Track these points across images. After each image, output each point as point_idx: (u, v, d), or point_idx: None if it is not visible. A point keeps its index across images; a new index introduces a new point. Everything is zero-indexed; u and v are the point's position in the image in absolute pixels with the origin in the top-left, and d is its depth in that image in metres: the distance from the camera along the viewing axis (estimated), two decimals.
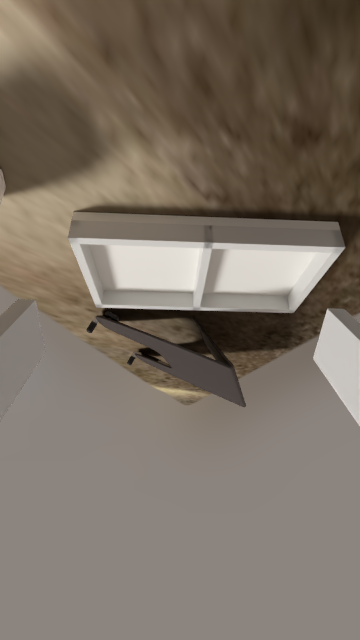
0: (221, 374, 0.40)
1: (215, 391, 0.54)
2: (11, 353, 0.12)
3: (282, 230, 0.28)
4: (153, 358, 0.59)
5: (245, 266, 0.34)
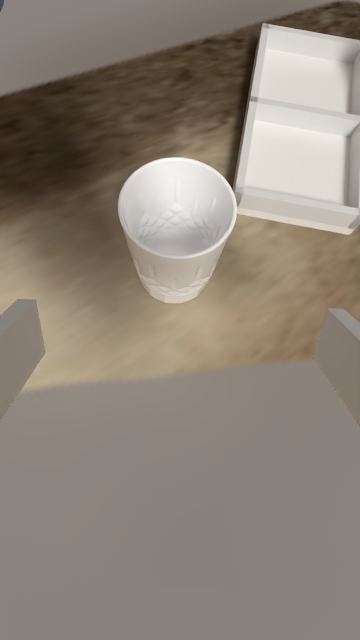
0: None
1: None
2: (11, 353, 0.12)
3: (253, 70, 0.37)
4: None
5: (301, 94, 0.36)
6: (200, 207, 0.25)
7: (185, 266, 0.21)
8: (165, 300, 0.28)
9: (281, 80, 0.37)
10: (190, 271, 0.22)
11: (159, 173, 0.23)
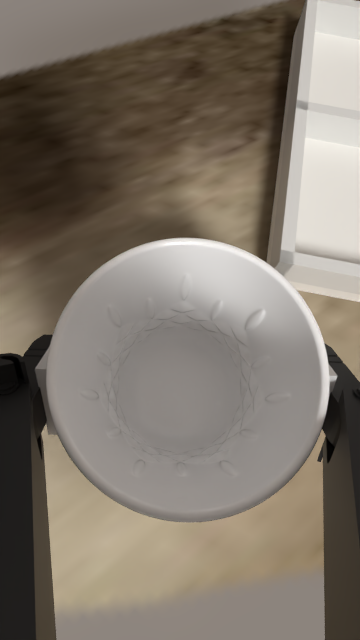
0: None
1: None
2: None
3: (294, 62, 0.25)
4: None
5: None
6: (230, 312, 0.13)
7: None
8: None
9: (335, 76, 0.25)
10: None
11: (149, 266, 0.11)
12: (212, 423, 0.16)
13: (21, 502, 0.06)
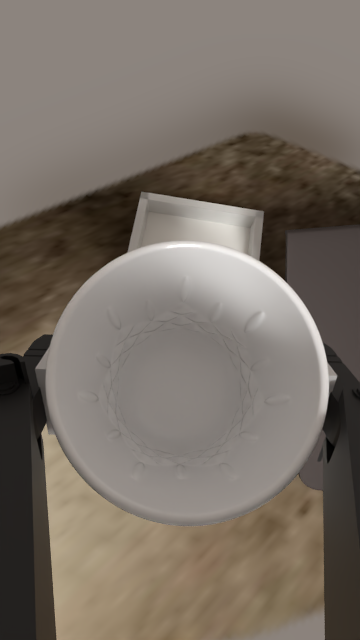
0: (348, 252, 0.23)
1: None
2: None
3: None
4: None
5: None
6: (229, 314, 0.13)
7: None
8: None
9: None
10: None
11: (148, 269, 0.11)
12: (212, 425, 0.16)
13: (21, 503, 0.06)
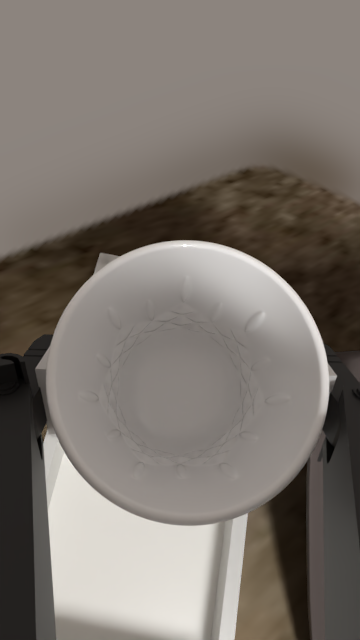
0: None
1: None
2: None
3: None
4: None
5: None
6: (229, 314, 0.13)
7: None
8: None
9: None
10: None
11: (149, 269, 0.11)
12: (212, 425, 0.16)
13: (21, 502, 0.06)
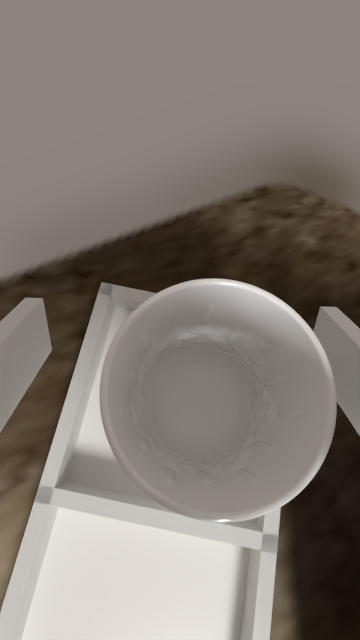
0: None
1: None
2: (20, 350, 0.12)
3: None
4: None
5: None
6: (245, 336, 0.15)
7: None
8: None
9: None
10: None
11: (179, 301, 0.12)
12: (227, 434, 0.17)
13: None
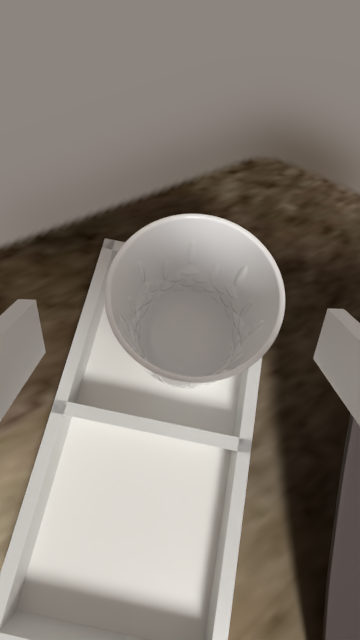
0: None
1: None
2: (11, 353, 0.12)
3: None
4: None
5: None
6: (223, 272, 0.18)
7: (206, 383, 0.14)
8: (173, 386, 0.21)
9: None
10: None
11: (167, 234, 0.15)
12: (211, 362, 0.21)
13: None
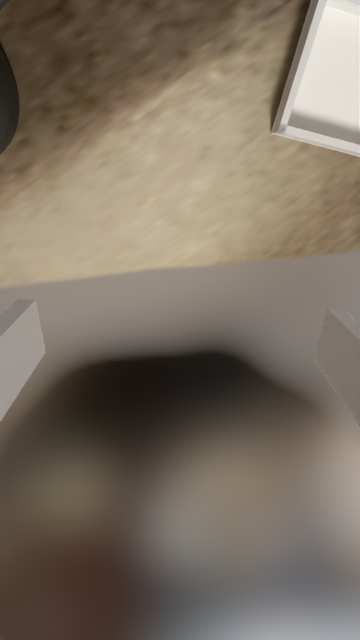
0: None
1: None
2: (11, 353, 0.12)
3: None
4: None
5: None
6: None
7: None
8: None
9: None
10: None
11: None
12: None
13: None
